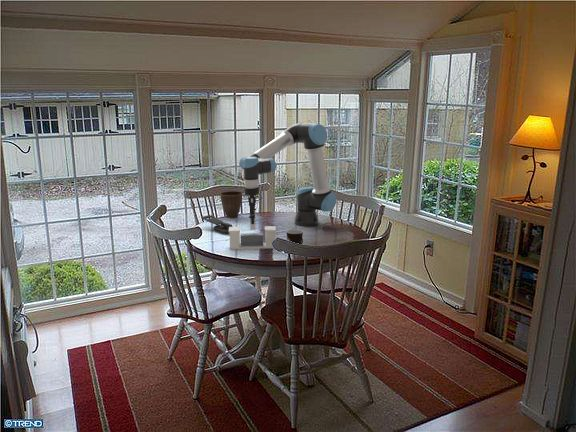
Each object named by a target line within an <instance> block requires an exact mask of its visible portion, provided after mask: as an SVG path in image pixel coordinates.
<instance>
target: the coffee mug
mask: <svg viewBox="0 0 576 432" xmlns="http://www.w3.org/2000/svg"><path fill="white" fill-rule="evenodd" d="M303 233H304V231H303V230H302V229H296V228H295V229H289V230H286V240H289V241H292V242H295V243H299V244H302V245H303V242H304V238H303Z"/></svg>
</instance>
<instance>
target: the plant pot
mask: <svg viewBox="0 0 576 432" xmlns="http://www.w3.org/2000/svg"><path fill="white" fill-rule="evenodd" d="M243 194H244V193H243V192H242V191H238V190H237V191H231V190H230V191H224V192H223V191H222V192H220V193H219V196H220V197H219V198H220V202H221V206H222V208H223V212H224V214H225V216H226V218H227V217H228V219H234V218H235V217H236V218H238V217H239V214H240V210H241V207H242V202H243Z"/></svg>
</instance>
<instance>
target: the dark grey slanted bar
mask: <svg viewBox="0 0 576 432" xmlns="http://www.w3.org/2000/svg"><path fill="white" fill-rule="evenodd" d="M201 220H204V221H205V222H209V223H211V224H212V225H214V226H213V230H212V232H213V231H214V232H216V233H218V234H221V235H225V236H226V235H230V233H229V227H234V226H233V225H232V224H231V223H228V222H224V221H223V220H221V219H219V218H217V217H216V216H214V215H212V214H209V215H205V216H202V217H201Z"/></svg>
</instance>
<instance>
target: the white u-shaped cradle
mask: <svg viewBox="0 0 576 432" xmlns="http://www.w3.org/2000/svg"><path fill="white" fill-rule="evenodd" d="M240 231H241V226H233V227H229V233H230V234H229V249H230V250H241V249H242V250H249V249H253V250H254V249H256V250H257V249H259V250H260V249H274V248H273V247H272V242H273V240H274V239H275V240H276V233H277V229H276V225H275V226H274V225H273V226H271V225H269V226H268V225H264V232H265V237H264V238H265V242H263V246H241V232H240Z"/></svg>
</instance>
